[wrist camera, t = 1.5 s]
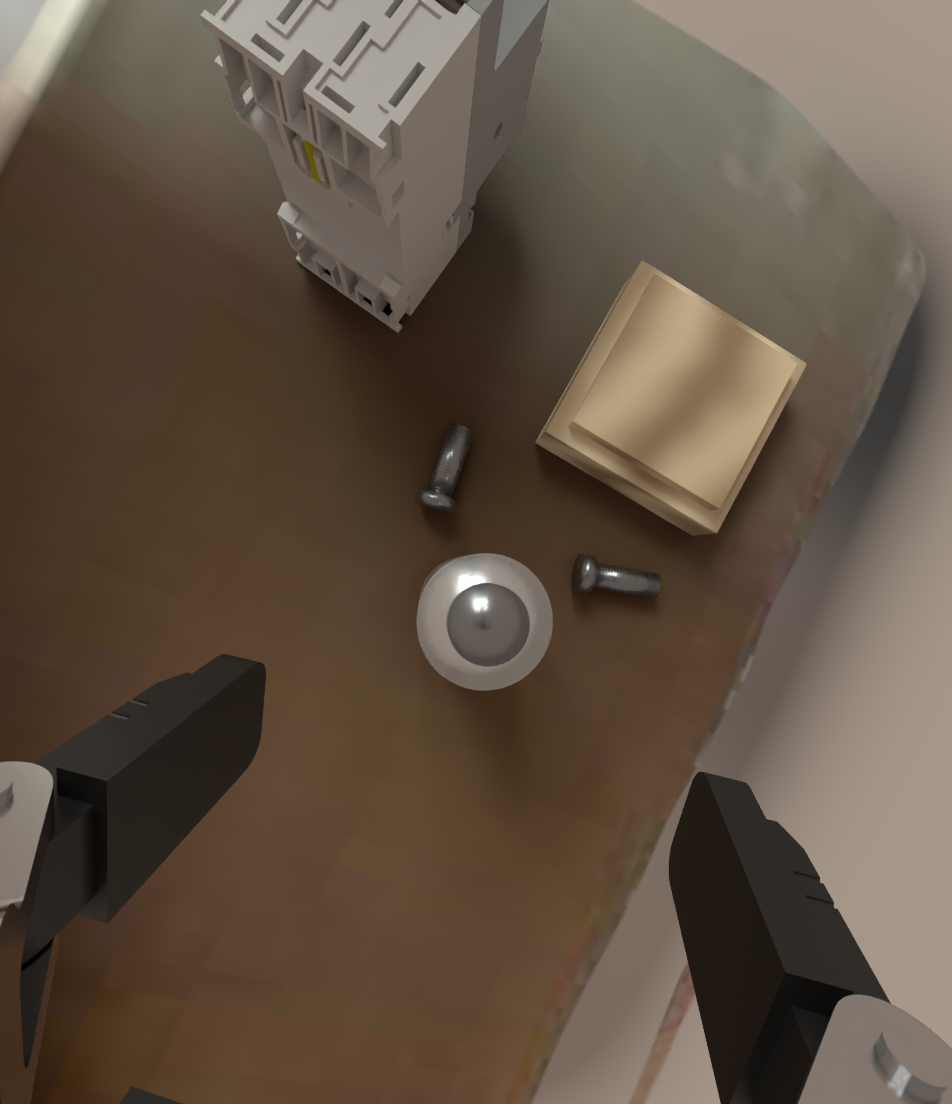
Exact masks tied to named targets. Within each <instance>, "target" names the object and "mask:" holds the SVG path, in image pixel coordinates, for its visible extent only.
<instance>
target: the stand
mask: <svg viewBox="0 0 952 1104" xmlns="http://www.w3.org/2000/svg"><path fill="white" fill-rule="evenodd" d="M806 365H807V364H806V363H805V362H803V361H802V360H800V359H799V358H797V357H795V356H794V355H792V354H791V353H789V352H787V351H786V350H784V349H783V348H781V347H780V346H778V345H776V344H775V343H773V342H772V341H770V340H768V339H767V338H765V337H764V336H762V335H760V334H759V333H757V332H756V331H754V330H753V329H751V328H749V327H748V326H746V325H745V324H743V323H741V322H740V321H738V320H737V319H735V318H734V317H732V316H730V315H729V314H727V313H726V312H724V311H722V310H721V309H719V308H718V307H716V306H715V305H713V304H711V303H710V302H708V301H707V300H705V299H703V298H702V297H700V296H699V295H697V294H696V293H694V292H692V291H691V290H689V289H688V288H686V287H684V286H683V285H681V284H680V283H678V282H677V281H675V280H673V279H672V278H670V277H669V276H667V275H665V274H664V273H662V272H661V271H659V270H657V269H656V268H654V267H653V266H651V265H650V264H648V263H646V262H645V261H643V260H642V261H641V262H640V263H639V265H638V266H637V267H636V269H635V270H634V272H633V273H632V274H631V276H630V277H629V279H628V280H627V281H626V283H625V284H624V286H623V287H622V289H621V291H620V293H619V294H618V296H617V298H616V300H615V302H614V303H613V305H612V307H611V309H610V310H609V312H608V314H607V316H606V318H605V319H604V321H603V323H602V325H601V326H600V328H599V330H598V332H597V333H596V335H595V337H594V339H593V341H592V342H591V344H590V346H589V348H588V349H587V351H586V353H585V355H584V357H583V358H582V360H581V362H580V364H579V365H578V367H577V369H576V371H575V373H574V374H573V376H572V378H571V380H570V381H569V383H568V385H567V387H566V389H565V390H564V392H563V394H562V396H561V397H560V399H559V401H558V403H557V404H556V406H555V408H554V410H553V412H552V413H551V415H550V417H549V419H548V420H547V422H546V424H545V426H544V428H543V429H542V431H541V433H540V435H539V436H538V438H537V440H536V442H535V443H536V444H538V445H540V446H541V447H543V448H545V449H546V450H548V451H550V452H552V453H553V454H555V455H557V456H558V457H560V458H562V459H563V460H565V461H567V462H568V463H570V464H572V465H573V466H575V467H577V468H579V469H580V470H582V471H584V472H585V473H587V474H589V475H590V476H592V477H594V478H595V479H597V480H599V481H601V482H602V483H604V484H606V485H607V486H609V487H611V488H612V489H614V490H616V491H617V492H619V493H621V494H622V495H624V496H626V497H628V498H629V499H631V500H633V501H634V502H636V503H638V504H639V505H641V506H643V507H644V508H646V509H648V510H650V511H651V512H653V513H655V514H656V515H658V516H660V517H661V518H663V519H665V520H666V521H668V522H670V523H672V524H673V525H675V526H677V527H678V528H680V529H682V530H683V531H685V532H687V533H688V534H690V535H692V536H696V535H706V534H716V533H717V532H718V530H719V528H720V527H721V525H722V523H723V521H724V519H725V517H726V515H727V513H728V512H729V510H730V508H731V506H732V504H733V502H734V500H735V498H736V496H737V495H738V493H739V491H740V489H741V487H742V485H743V483H744V481H745V480H746V478H747V476H748V474H749V472H750V470H751V468H752V466H753V465H754V463H755V461H756V459H757V457H758V455H759V453H760V451H761V449H762V448H763V446H764V444H765V442H766V440H767V438H768V436H769V434H770V433H771V431H772V429H773V427H774V425H775V423H776V421H777V419H778V418H779V416H780V414H781V412H782V410H783V408H784V406H785V404H786V402H787V401H788V399H789V397H790V395H791V393H792V391H793V389H794V387H795V386H796V384H797V382H798V380H799V378H800V376H801V374H802V372H803V371H804V369H805V367H806Z"/></svg>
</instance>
